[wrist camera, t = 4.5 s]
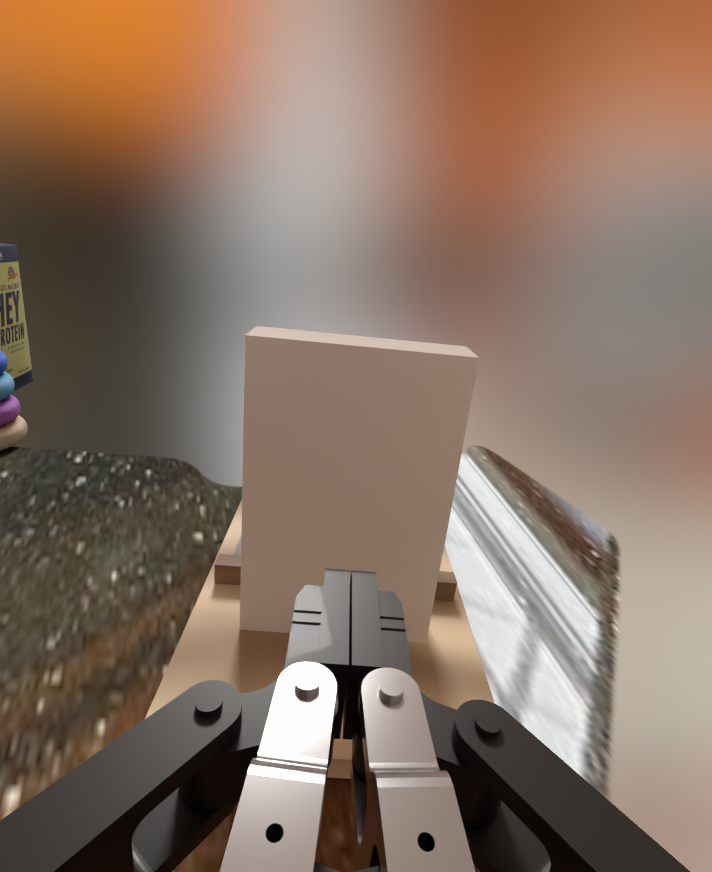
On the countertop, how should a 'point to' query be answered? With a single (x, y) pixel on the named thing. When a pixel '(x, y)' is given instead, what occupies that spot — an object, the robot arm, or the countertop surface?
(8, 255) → the protein box
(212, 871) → the countertop surface
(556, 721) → the countertop surface
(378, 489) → the tile
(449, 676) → the board
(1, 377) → the stacking toy
